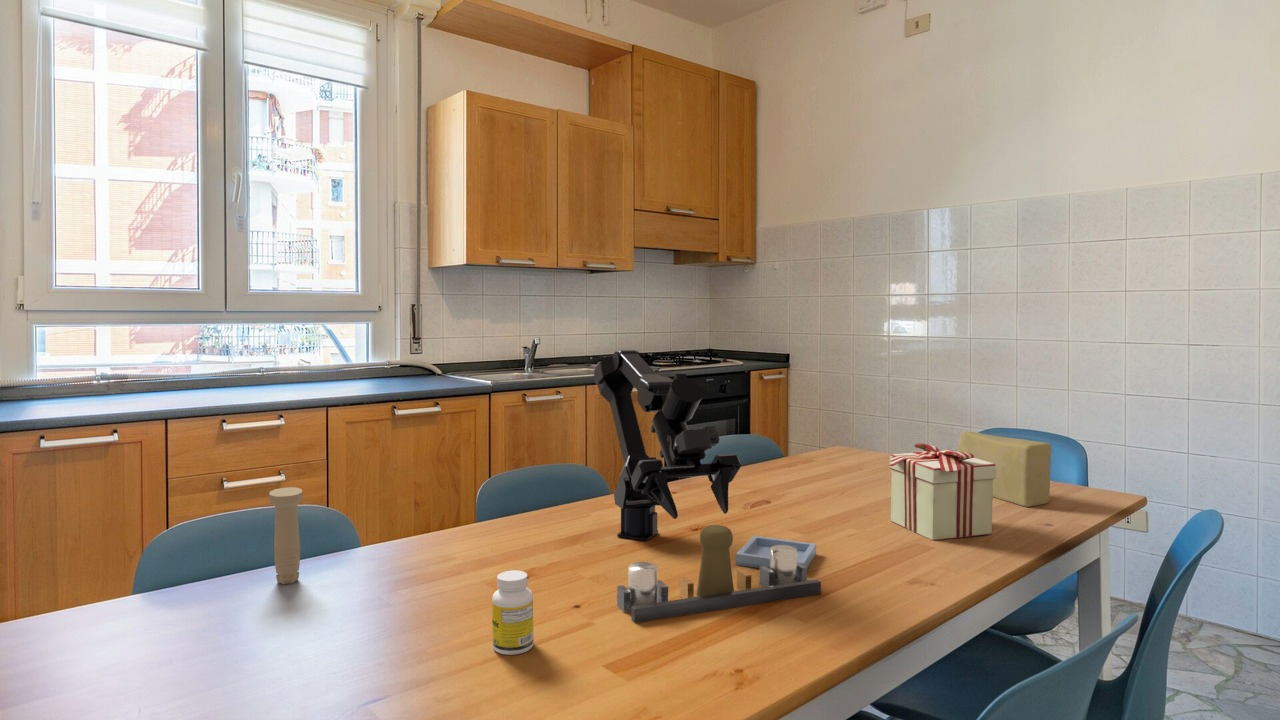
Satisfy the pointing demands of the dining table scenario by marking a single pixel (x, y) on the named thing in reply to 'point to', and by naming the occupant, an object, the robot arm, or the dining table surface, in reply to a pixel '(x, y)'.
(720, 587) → the olive knobbed post
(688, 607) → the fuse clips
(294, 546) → the handle
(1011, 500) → the cheese
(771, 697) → the dining table surface
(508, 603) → the supplement bottle
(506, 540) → the dining table surface
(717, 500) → the robot arm
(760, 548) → the tray
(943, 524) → the gift box
